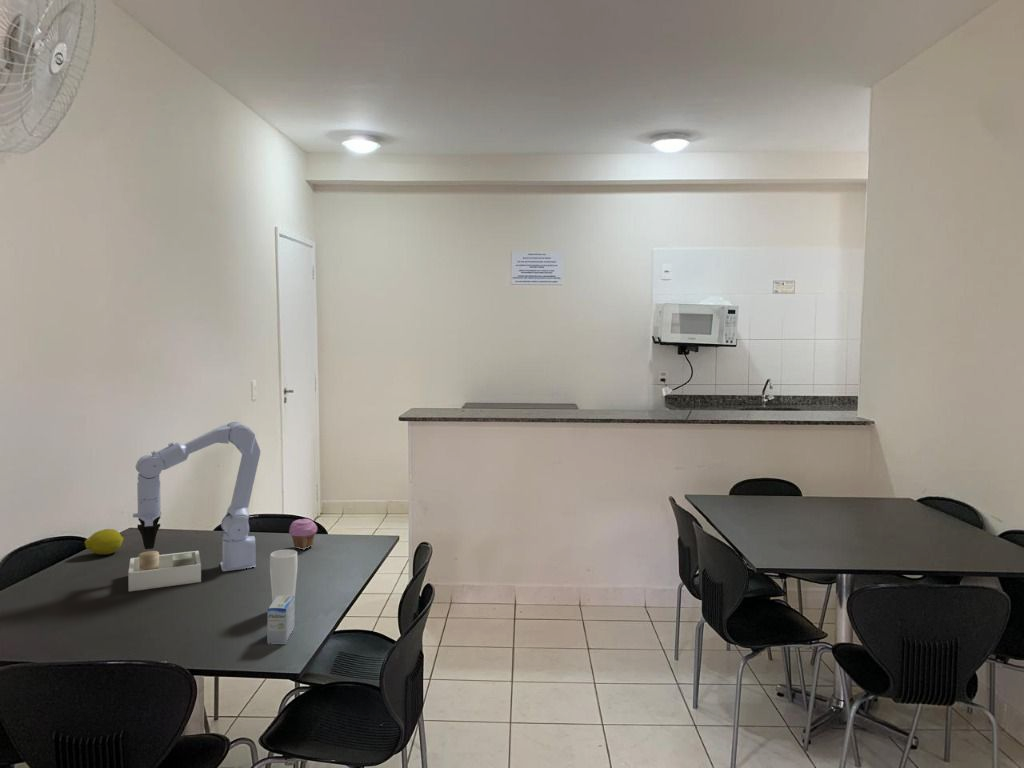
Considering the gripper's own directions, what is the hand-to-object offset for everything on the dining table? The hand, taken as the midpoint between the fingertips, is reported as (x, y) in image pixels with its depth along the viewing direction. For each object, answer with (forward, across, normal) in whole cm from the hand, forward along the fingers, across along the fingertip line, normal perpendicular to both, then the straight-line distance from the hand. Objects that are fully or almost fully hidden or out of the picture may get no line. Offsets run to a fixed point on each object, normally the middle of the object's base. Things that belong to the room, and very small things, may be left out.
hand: (149, 544), depth 189 cm
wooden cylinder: (+10, 0, 0) cm, 10 cm away
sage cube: (+10, 0, +8) cm, 13 cm away
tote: (+10, 0, +4) cm, 11 cm away
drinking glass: (+11, +37, +31) cm, 49 cm away
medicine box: (+11, +53, +28) cm, 61 cm away
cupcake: (+11, -13, +45) cm, 48 cm away
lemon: (+11, -31, -13) cm, 35 cm away
